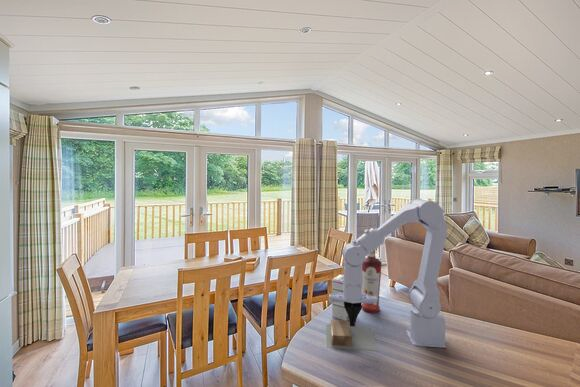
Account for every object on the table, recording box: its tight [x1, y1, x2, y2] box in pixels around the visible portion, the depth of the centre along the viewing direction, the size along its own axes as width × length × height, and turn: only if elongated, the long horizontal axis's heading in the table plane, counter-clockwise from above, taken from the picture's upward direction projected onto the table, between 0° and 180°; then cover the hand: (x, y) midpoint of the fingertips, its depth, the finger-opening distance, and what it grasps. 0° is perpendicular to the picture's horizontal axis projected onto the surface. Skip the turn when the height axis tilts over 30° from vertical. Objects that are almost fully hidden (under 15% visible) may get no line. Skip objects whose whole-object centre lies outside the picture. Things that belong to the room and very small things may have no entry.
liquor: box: [361, 249, 383, 313], centre depth 108 cm, size 7×7×28 cm
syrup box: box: [331, 274, 349, 321], centre depth 104 cm, size 6×6×14 cm
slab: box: [330, 319, 352, 346], centre depth 90 cm, size 3×9×6 cm
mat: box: [325, 324, 379, 352], centre depth 91 cm, size 15×13×1 cm
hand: (352, 324), depth 90 cm, fingers closed
